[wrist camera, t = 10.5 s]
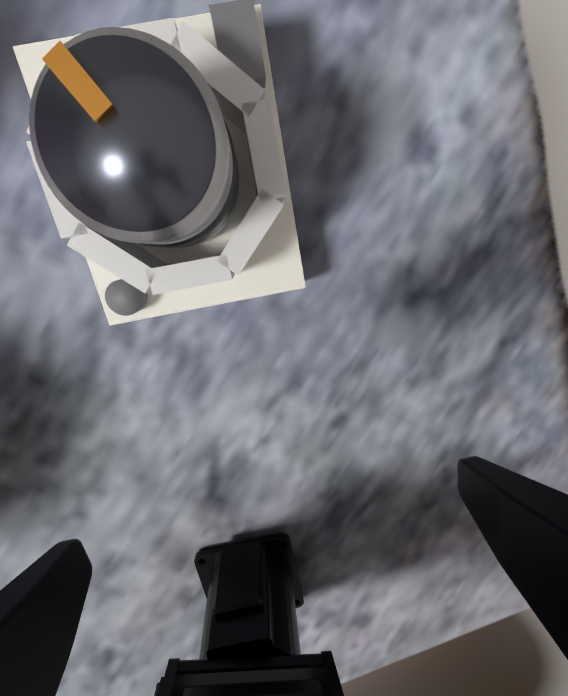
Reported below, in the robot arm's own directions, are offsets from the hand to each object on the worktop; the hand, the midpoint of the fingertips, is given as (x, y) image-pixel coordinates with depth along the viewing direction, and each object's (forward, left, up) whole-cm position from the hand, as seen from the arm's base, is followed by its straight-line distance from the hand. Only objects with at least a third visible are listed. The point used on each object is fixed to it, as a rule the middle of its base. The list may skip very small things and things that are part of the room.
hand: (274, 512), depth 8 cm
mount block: (+9, +2, -12) cm, 15 cm away
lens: (+9, +2, -10) cm, 13 cm away
